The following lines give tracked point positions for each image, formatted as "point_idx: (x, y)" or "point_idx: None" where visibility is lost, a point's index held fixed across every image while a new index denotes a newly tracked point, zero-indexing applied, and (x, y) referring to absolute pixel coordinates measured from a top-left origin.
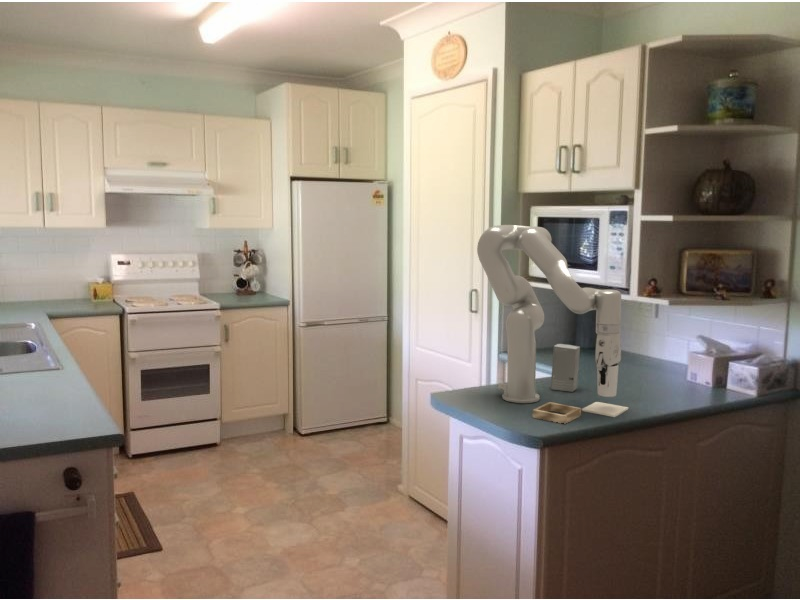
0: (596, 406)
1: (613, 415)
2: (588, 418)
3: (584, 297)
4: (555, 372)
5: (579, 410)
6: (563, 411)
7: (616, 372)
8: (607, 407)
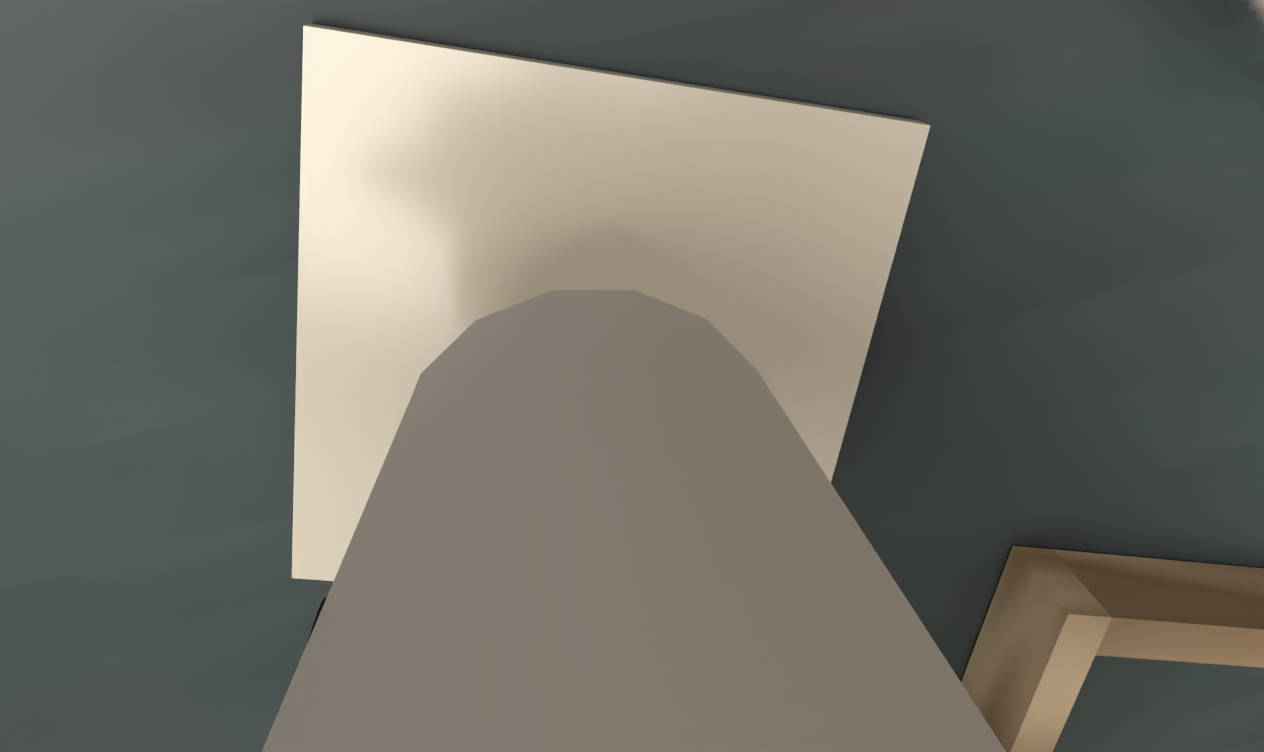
0: None
1: (918, 150)
2: (1097, 435)
3: None
4: None
5: (1107, 602)
6: None
7: (797, 670)
8: None
